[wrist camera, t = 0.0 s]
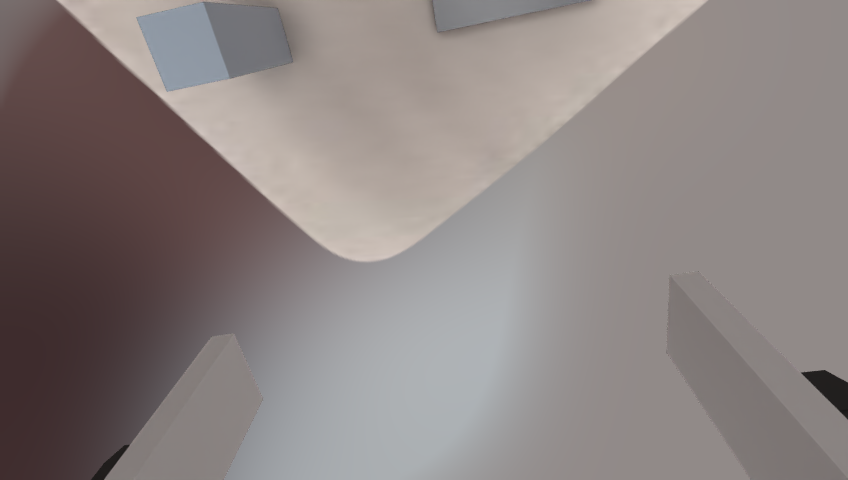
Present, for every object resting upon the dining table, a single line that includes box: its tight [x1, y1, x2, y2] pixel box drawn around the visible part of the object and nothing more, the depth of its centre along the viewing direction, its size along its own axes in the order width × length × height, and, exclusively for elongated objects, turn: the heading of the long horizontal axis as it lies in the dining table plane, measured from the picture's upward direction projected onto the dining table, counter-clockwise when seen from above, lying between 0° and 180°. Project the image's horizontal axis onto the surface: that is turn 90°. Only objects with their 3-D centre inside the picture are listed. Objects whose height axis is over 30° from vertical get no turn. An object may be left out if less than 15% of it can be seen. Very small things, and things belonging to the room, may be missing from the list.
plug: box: [136, 2, 293, 92], centre depth 31 cm, size 4×4×12 cm
